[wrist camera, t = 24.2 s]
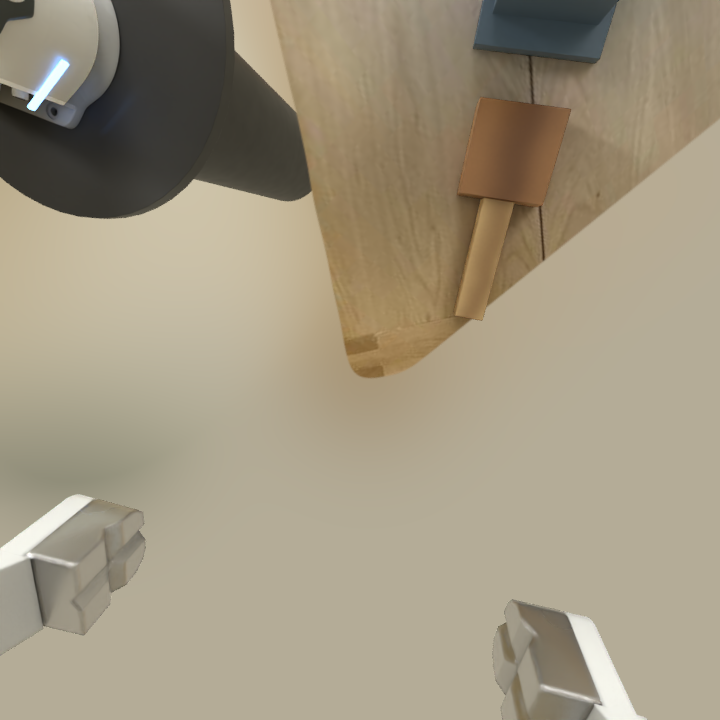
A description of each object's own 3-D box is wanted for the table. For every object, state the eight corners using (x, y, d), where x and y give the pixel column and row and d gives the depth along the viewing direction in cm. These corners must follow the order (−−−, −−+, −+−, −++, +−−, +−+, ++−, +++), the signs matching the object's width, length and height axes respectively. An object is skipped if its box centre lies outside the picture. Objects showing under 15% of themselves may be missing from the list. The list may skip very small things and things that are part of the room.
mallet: (431, 308, 43) (432, 312, 40) (476, 105, 36) (480, 96, 34) (501, 321, 42) (507, 326, 40) (561, 117, 35) (571, 108, 33)
